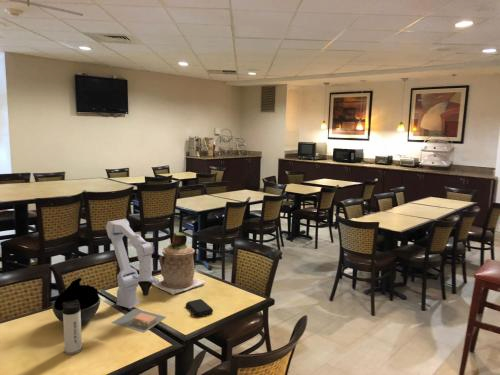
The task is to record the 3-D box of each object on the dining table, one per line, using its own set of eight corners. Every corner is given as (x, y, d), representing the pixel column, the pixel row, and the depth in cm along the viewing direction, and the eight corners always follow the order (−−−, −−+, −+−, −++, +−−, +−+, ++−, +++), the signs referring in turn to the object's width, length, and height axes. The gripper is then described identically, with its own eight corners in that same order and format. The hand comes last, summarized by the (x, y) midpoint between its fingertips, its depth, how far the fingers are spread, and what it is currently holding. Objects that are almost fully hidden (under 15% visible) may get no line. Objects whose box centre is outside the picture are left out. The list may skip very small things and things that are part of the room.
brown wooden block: (132, 317, 173) (147, 322, 169) (141, 312, 178) (156, 316, 174) (132, 323, 173) (147, 327, 169) (141, 317, 178) (156, 322, 175)
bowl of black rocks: (82, 336, 162) (80, 294, 159) (42, 329, 166) (40, 289, 164) (109, 315, 181) (108, 277, 178) (73, 309, 186) (72, 273, 183)
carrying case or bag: (182, 307, 192) (194, 319, 180) (182, 301, 191) (194, 313, 179) (201, 302, 198) (214, 314, 185) (201, 297, 197) (214, 308, 185)
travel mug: (67, 346, 154) (65, 299, 151) (84, 345, 155) (82, 299, 152) (61, 355, 148) (58, 306, 145) (78, 354, 149) (76, 306, 146)
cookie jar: (207, 284, 221) (208, 231, 217) (172, 296, 203) (172, 239, 199) (182, 273, 238) (182, 223, 233) (147, 283, 220) (146, 230, 216)
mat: (111, 323, 173) (111, 322, 173) (135, 309, 188) (135, 308, 187) (144, 333, 165) (144, 332, 165) (166, 318, 180) (166, 317, 180)
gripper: (127, 268, 180) (128, 295, 182) (152, 273, 174) (152, 301, 176) (137, 263, 186) (138, 290, 188) (161, 268, 180) (161, 295, 182)
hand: (145, 295), depth 182 cm, fingers closed
